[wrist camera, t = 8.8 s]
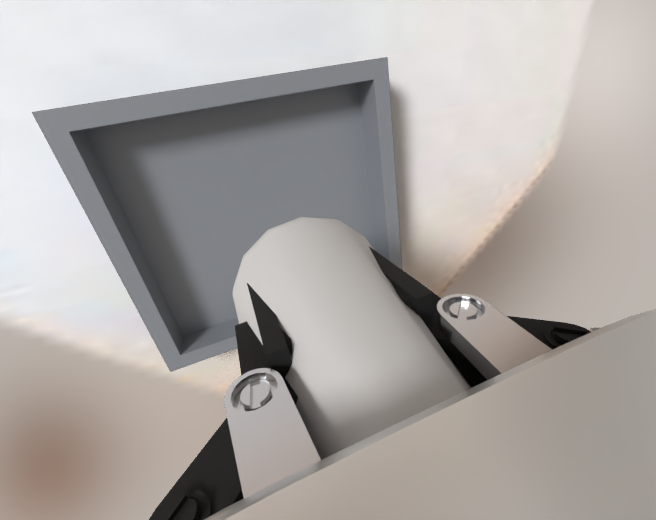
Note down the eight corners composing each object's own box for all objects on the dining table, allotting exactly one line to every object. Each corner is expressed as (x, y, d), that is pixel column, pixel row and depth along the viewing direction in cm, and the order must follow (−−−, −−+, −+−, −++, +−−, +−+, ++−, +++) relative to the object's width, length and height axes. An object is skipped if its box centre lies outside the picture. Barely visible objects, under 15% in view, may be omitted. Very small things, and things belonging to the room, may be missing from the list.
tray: (364, 65, 21) (387, 57, 18) (385, 273, 28) (403, 288, 25) (59, 114, 16) (31, 112, 14) (174, 344, 24) (170, 371, 21)
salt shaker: (364, 209, 14) (974, 518, 3) (344, 318, 16) (664, 759, 5) (230, 198, 12) (583, 1201, 1) (225, 325, 14) (306, 1149, 3)
